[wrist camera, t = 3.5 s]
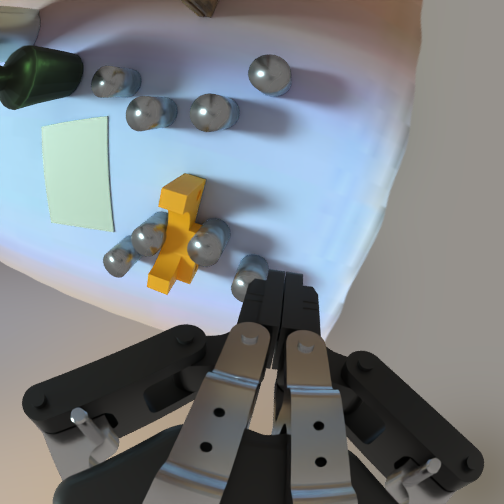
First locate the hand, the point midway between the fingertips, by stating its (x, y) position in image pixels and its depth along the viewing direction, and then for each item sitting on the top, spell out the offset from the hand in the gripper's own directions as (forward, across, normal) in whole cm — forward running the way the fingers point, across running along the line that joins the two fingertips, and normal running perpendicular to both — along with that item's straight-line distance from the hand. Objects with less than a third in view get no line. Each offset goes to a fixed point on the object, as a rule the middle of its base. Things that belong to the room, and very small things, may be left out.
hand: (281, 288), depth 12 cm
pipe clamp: (+19, +11, +6) cm, 23 cm away
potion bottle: (+19, +31, -14) cm, 39 cm away
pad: (+19, +30, +1) cm, 36 cm away
